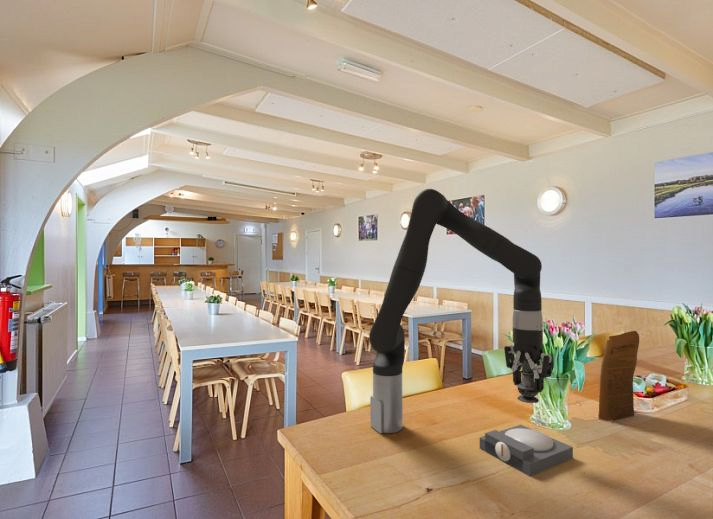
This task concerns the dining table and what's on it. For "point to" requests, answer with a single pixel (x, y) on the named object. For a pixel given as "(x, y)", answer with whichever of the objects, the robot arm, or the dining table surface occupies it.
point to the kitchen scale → (526, 449)
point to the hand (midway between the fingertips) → (527, 388)
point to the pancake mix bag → (618, 376)
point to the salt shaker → (527, 385)
